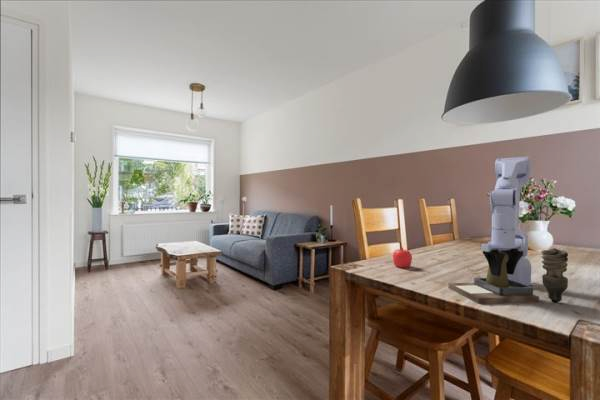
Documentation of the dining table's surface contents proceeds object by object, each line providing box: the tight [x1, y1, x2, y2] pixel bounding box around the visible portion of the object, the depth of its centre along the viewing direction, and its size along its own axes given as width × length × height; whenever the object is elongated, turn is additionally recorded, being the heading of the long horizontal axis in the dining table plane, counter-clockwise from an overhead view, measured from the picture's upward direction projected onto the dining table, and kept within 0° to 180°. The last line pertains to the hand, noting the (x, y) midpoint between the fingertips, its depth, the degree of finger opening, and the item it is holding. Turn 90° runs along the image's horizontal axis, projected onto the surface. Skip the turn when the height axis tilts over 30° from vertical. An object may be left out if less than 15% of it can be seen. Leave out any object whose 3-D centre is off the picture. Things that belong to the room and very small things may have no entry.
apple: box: [392, 247, 413, 269], centre depth 115 cm, size 8×8×8 cm
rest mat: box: [456, 285, 494, 294], centre depth 82 cm, size 7×7×1 cm
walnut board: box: [447, 282, 540, 305], centre depth 82 cm, size 18×13×2 cm
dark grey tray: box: [473, 277, 534, 296], centre depth 83 cm, size 10×10×2 cm
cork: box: [485, 251, 509, 288], centre depth 84 cm, size 6×6×11 cm
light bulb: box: [540, 247, 569, 304], centre depth 77 cm, size 6×6×15 cm
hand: (502, 274), depth 83 cm, fingers closed on cork, 5 cm apart
